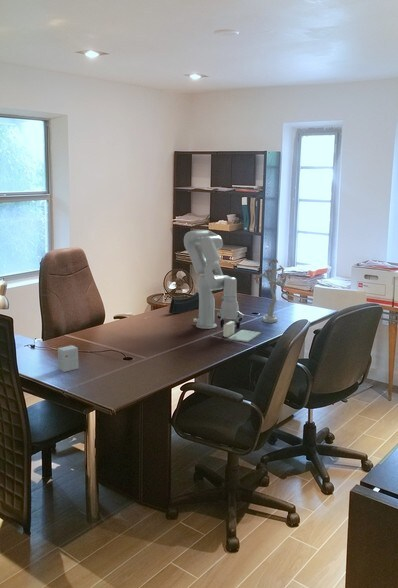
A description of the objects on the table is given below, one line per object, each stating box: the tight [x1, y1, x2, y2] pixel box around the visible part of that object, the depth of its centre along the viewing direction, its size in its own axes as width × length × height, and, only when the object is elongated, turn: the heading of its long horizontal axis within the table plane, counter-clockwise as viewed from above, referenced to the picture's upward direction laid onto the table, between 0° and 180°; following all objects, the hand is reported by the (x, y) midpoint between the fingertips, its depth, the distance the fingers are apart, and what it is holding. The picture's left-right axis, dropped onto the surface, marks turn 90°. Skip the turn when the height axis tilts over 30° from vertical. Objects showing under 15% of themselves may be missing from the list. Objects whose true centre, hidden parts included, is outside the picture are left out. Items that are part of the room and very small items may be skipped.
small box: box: [57, 344, 80, 373], centre depth 278 cm, size 8×6×10 cm
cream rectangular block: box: [222, 320, 236, 338], centre depth 340 cm, size 3×10×7 cm, turn 153°
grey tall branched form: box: [252, 258, 291, 324], centre depth 371 cm, size 28×24×40 cm
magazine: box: [168, 292, 199, 314], centre depth 396 cm, size 17×3×30 cm
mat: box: [227, 329, 262, 343], centre depth 337 cm, size 12×20×1 cm, turn 153°
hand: (230, 327), depth 339 cm, fingers open, 9 cm apart
